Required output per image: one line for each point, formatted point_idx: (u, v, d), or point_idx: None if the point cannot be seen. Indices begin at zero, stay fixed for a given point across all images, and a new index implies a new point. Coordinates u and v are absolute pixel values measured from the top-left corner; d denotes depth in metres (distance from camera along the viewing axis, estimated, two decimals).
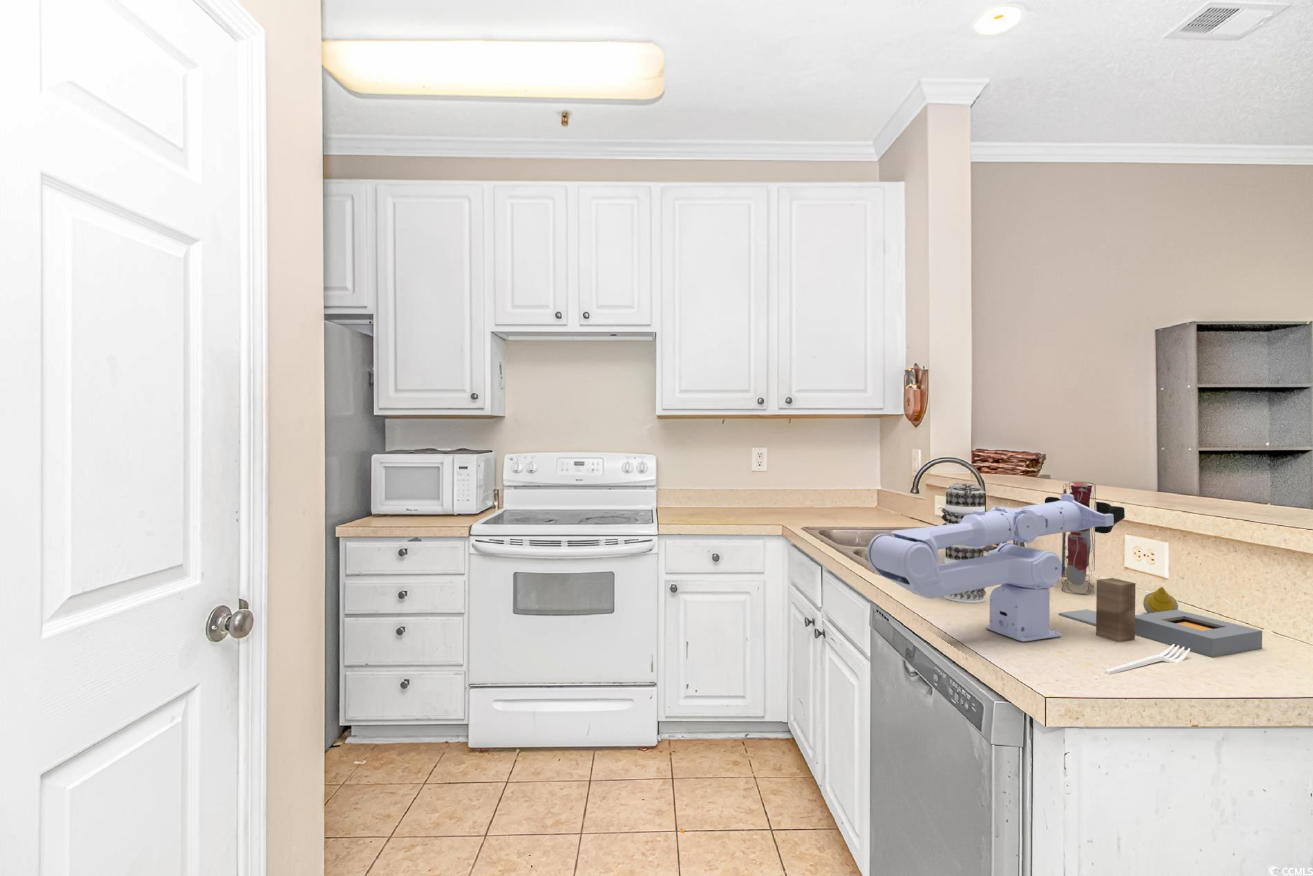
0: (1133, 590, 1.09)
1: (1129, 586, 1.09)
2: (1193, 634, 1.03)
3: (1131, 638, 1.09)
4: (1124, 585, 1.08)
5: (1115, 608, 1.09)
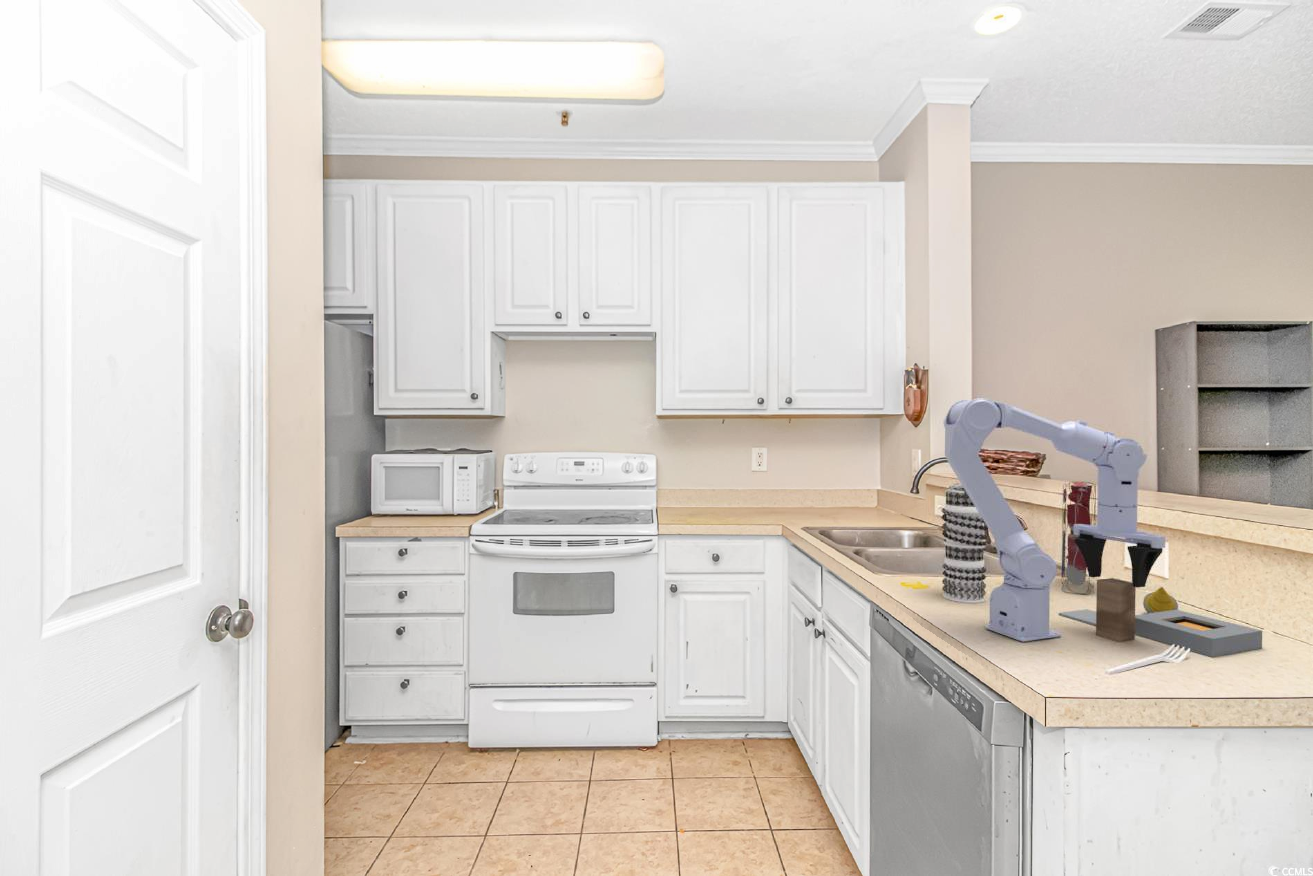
0: (1133, 590, 1.09)
1: (1129, 586, 1.09)
2: (1193, 634, 1.03)
3: (1131, 638, 1.09)
4: (1124, 585, 1.08)
5: (1115, 608, 1.09)
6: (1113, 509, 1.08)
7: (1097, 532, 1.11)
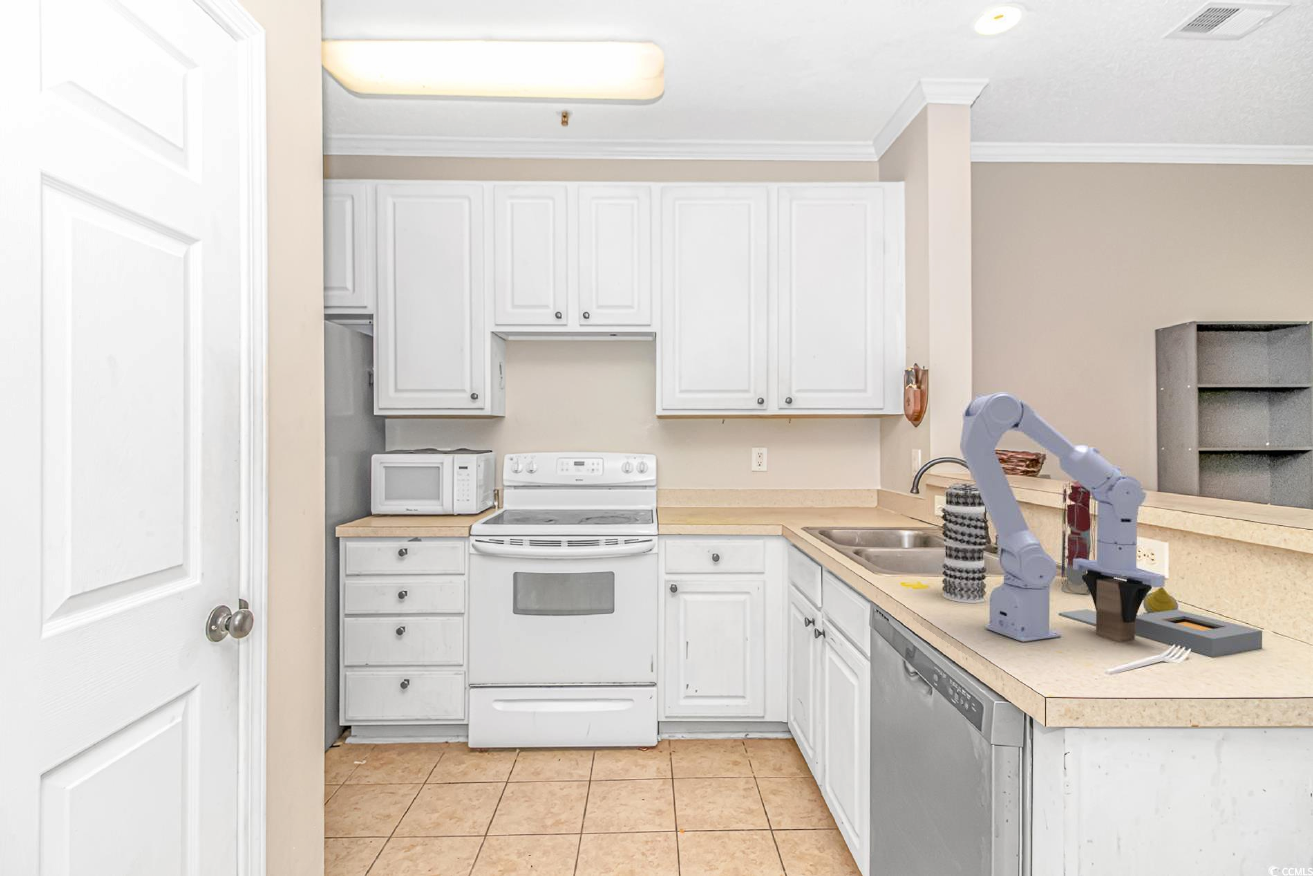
0: None
1: None
2: (1193, 634, 1.03)
3: (1131, 638, 1.09)
4: None
5: (1115, 608, 1.09)
6: (1112, 546, 1.08)
7: (1096, 568, 1.11)
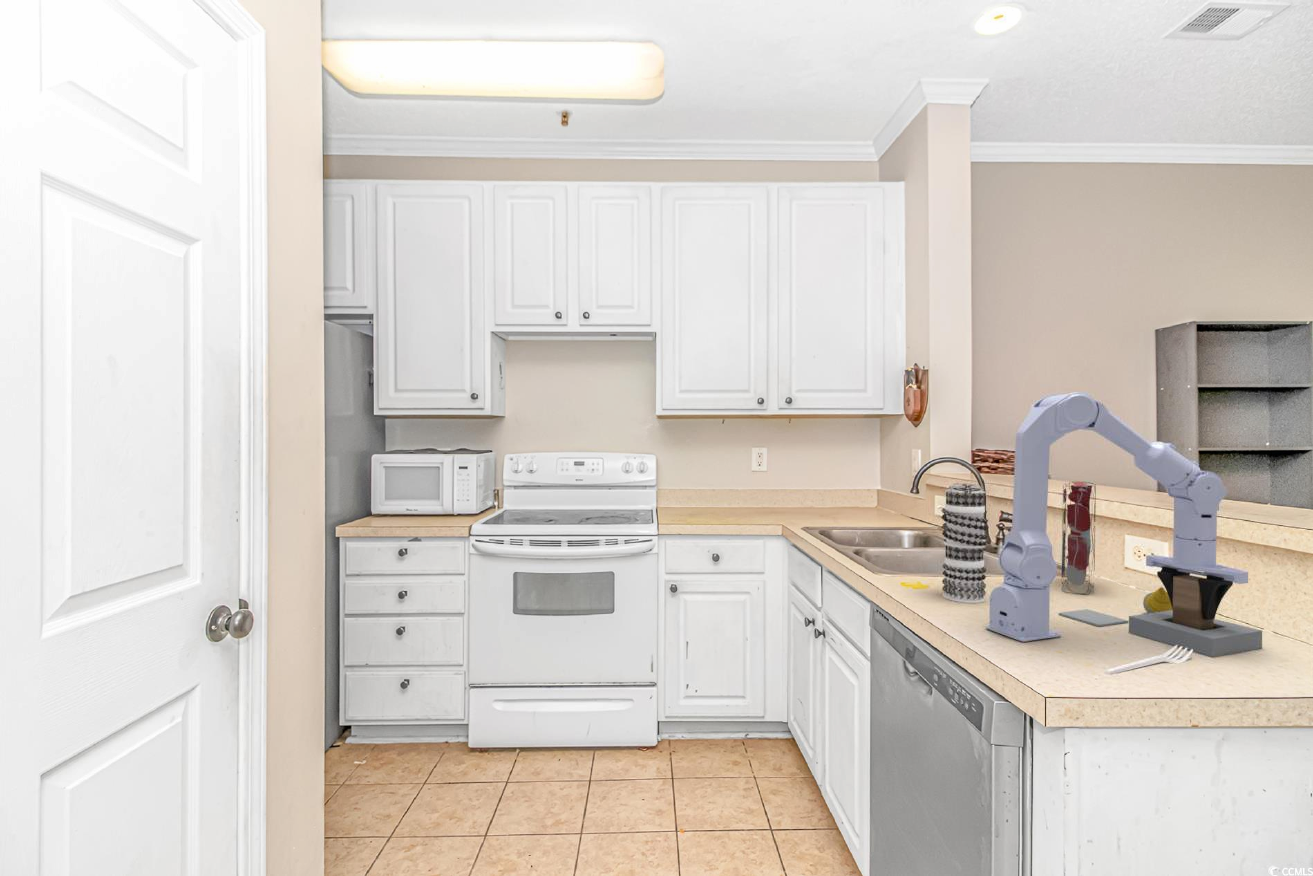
0: None
1: None
2: (1193, 634, 1.03)
3: None
4: None
5: (1194, 605, 1.07)
6: (1192, 542, 1.07)
7: (1174, 565, 1.09)
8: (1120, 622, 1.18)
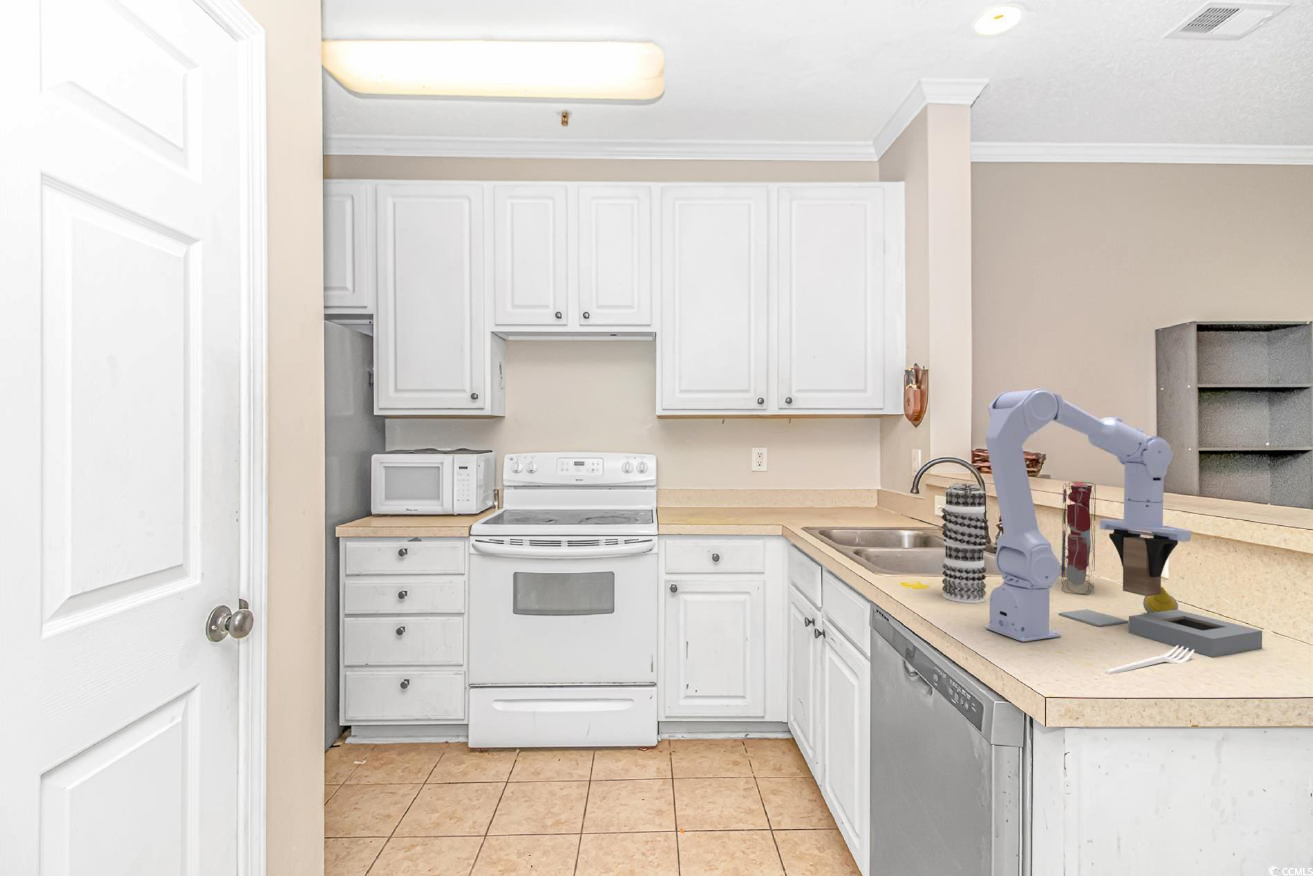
0: None
1: None
2: (1193, 634, 1.03)
3: (1157, 593, 1.13)
4: None
5: (1141, 564, 1.13)
6: (1140, 504, 1.13)
7: (1124, 526, 1.15)
8: (1120, 622, 1.18)
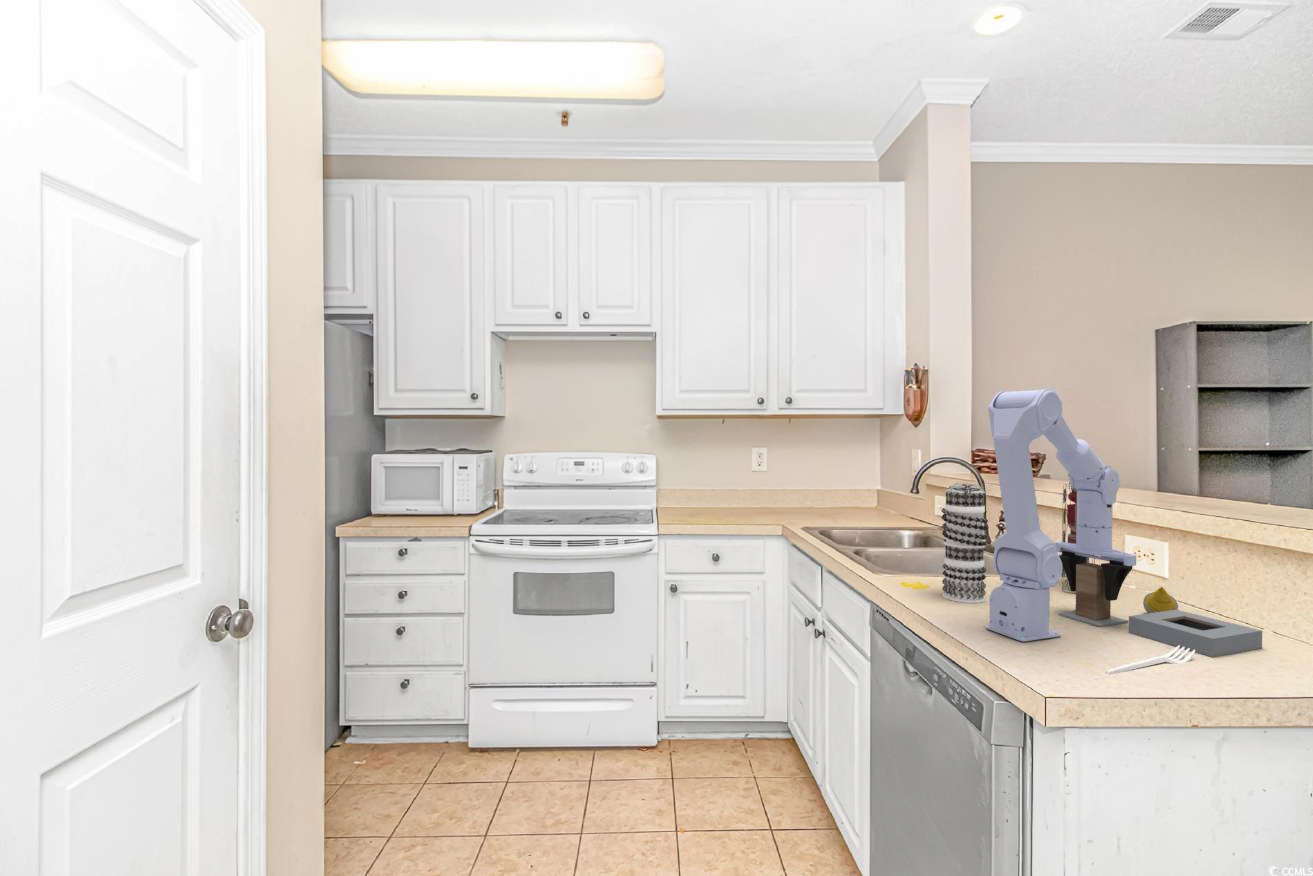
0: None
1: None
2: (1193, 634, 1.03)
3: (1107, 617, 1.20)
4: (1100, 569, 1.19)
5: (1092, 590, 1.19)
6: (1090, 530, 1.19)
7: (1076, 550, 1.22)
8: (1120, 622, 1.18)
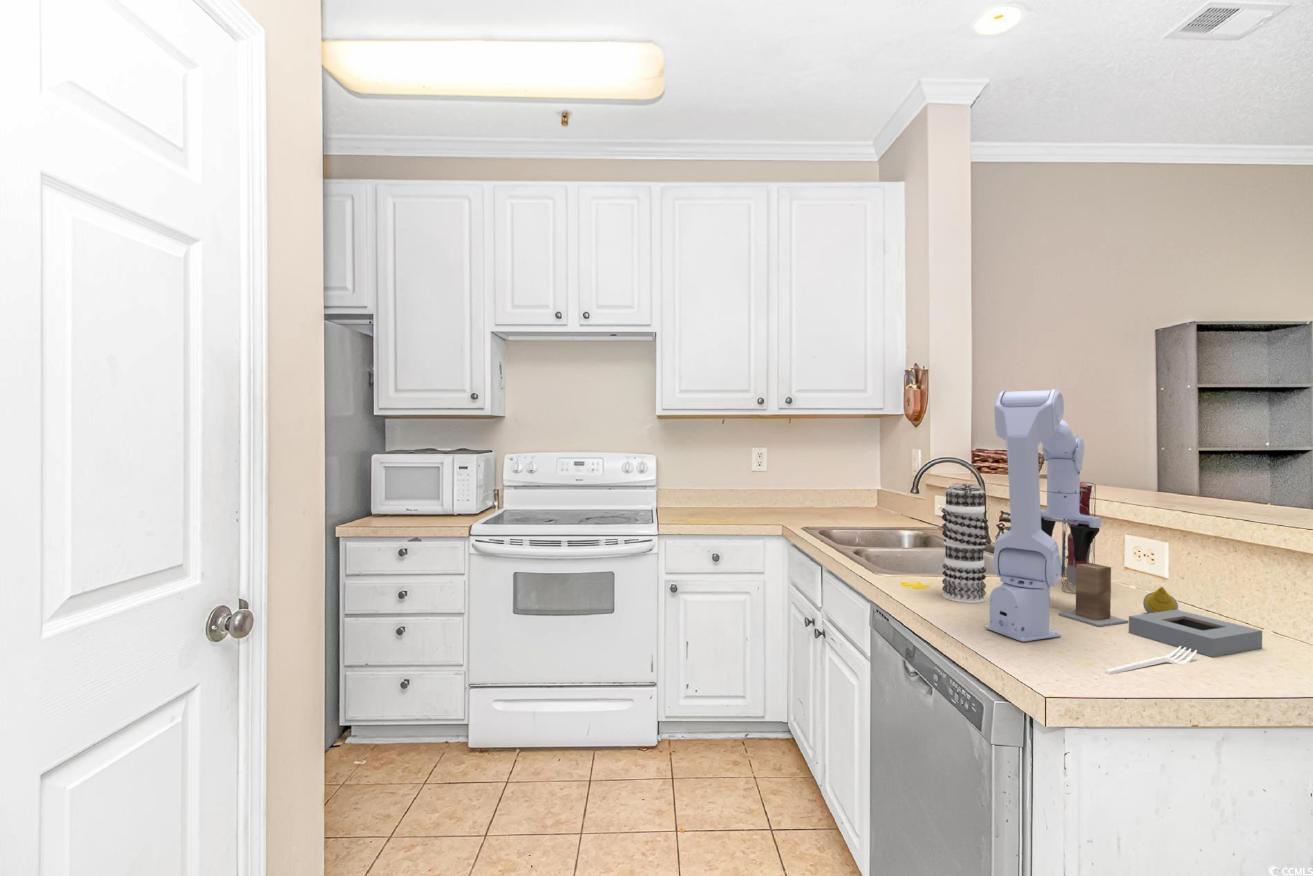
0: (1109, 573, 1.20)
1: (1105, 570, 1.19)
2: (1193, 634, 1.03)
3: (1107, 617, 1.20)
4: (1100, 569, 1.19)
5: (1092, 590, 1.19)
6: (1059, 495, 1.27)
7: (1046, 515, 1.30)
8: (1120, 622, 1.18)
